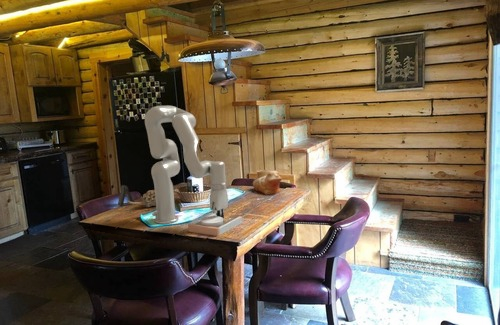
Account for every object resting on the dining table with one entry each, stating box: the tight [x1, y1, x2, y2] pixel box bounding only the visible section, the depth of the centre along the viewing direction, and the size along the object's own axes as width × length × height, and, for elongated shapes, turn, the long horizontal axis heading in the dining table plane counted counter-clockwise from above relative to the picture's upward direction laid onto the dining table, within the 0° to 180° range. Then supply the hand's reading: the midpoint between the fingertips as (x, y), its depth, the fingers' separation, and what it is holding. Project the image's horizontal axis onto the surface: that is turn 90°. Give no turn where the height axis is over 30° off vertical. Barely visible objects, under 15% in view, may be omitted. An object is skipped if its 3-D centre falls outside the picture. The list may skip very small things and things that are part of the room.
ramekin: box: [200, 215, 225, 228], centre depth 192 cm, size 11×11×5 cm
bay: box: [187, 213, 243, 237], centre depth 196 cm, size 17×22×4 cm
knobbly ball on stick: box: [126, 189, 156, 208], centre depth 238 cm, size 22×10×10 cm, turn 130°
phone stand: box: [117, 184, 135, 208], centre depth 248 cm, size 9×6×12 cm, turn 123°
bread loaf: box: [252, 169, 283, 196], centre depth 267 cm, size 14×26×15 cm, turn 29°
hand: (220, 222), depth 200 cm, fingers closed
